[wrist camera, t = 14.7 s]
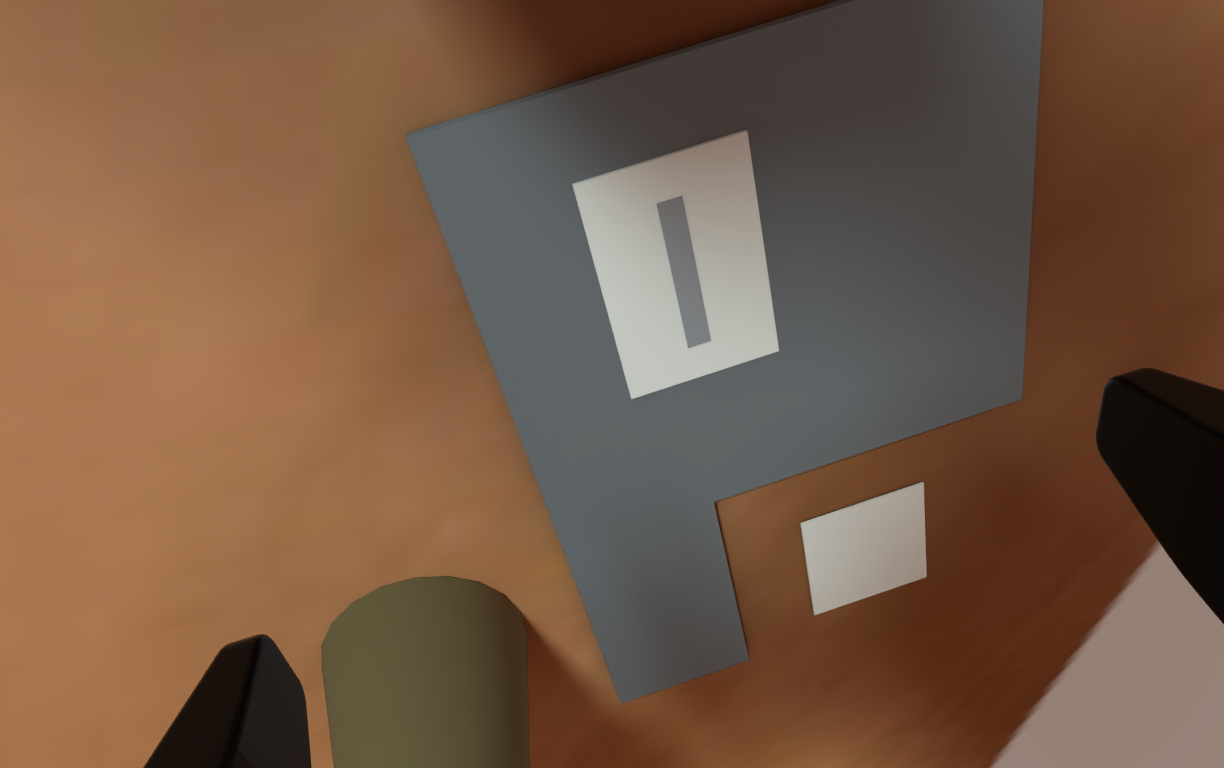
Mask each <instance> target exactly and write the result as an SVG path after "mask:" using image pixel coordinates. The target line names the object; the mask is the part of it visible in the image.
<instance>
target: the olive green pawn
mask: <svg viewBox="0 0 1224 768" xmlns="http://www.w3.org/2000/svg"><path fill="white" fill-rule="evenodd" d="M322 672H323V681H324V689H325V697H326V706H327V714H328V722H329V730H330V739H331V747H332V755H333V764H334V768H530V762H529V710H528V659H527V631H526V628H525V625H524V622H523V619H522V615H521V612H520V611H519V610H518V609H517V608H516V607H515V606H514V605H513V604H512V603H511V601H510V600H509V599H508V598H507V597H506V596H505V595H504V594H502V593H500V592H498V591H496V590H494V589H492V588H490V587H488V586H486V585H484V584H482V583H480V582H476V581H470V580H465V579H460V578H455V577H450V576H444V577H423V578H412V579H408V580H405V581H401V582H398V583H394V584H390V585H387V586H383V587H380V588H378V589H377V590H375V591H373V592H371V593H369V594H367V595H366V596H364V597H362V598H360V599H358V600H357V601H355V602H353V603H352V604H351V605H350V606H349V607H348V608H347V609H346V610H345V611H344V612H343V613H342V614H341V615H340V616H339V617H338V618H337V619H336V620H335V621H334V622H333V623H332V624H331V626H330V628H329V631H328V633H327V635H326V637H325V639H324V642H323V644H322Z"/></svg>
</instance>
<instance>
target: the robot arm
mask: <svg viewBox="0 0 1224 768" xmlns="http://www.w3.org/2000/svg"><path fill="white" fill-rule="evenodd" d="M1096 442H1097V447H1098V450H1099V452H1100V455H1101V457H1102V458H1103V460H1104V462H1105V463H1106V465H1107V466H1108V467H1109V469H1110V470H1111V472H1112V473H1113V475H1114V476H1115V478H1116V479H1117V481H1118V482H1119V484H1120V485H1121V487H1122V488H1123V490H1124V491H1125V492H1126V494H1127V495H1128V497H1129V498H1130V500H1131V501H1132V503H1133V504H1134V506H1135V507H1136V509H1137V510H1138V512H1139V513H1140V515H1141V516H1142V517H1143V519H1144V520H1145V522H1146V523H1147V525H1148V526H1149V528H1150V529H1151V531H1152V532H1153V534H1154V535H1155V537H1156V538H1157V540H1158V541H1159V542H1160V544H1161V545H1162V547H1163V548H1164V550H1165V551H1166V553H1167V554H1168V556H1169V557H1170V558H1171V559H1172V561H1173V562H1174V564H1175V565H1176V566H1177V568H1178V569H1179V571H1180V572H1181V573H1182V574H1183V576H1184V577H1185V578H1186V580H1187V581H1188V582H1189V583H1190V585H1191V586H1192V587H1193V588H1194V589H1195V591H1196V592H1197V593H1198V594H1199V596H1200V597H1201V598H1202V599H1203V600H1204V601H1205V603H1206V604H1207V605H1208V606H1209V607H1210V609H1211V610H1212V611H1213V612H1214V613H1215V614H1216V616H1217V617H1218V618H1219V619H1220V620H1221V621H1222V623H1223V624H1224V391H1223V390H1220V389H1217V388H1214V387H1211V386H1207V385H1204V384H1201V383H1198V382H1195V381H1191V380H1188V379H1185V378H1182V377H1179V376H1175V375H1172V374H1169V373H1166V372H1163V371H1159V370H1156V369H1152V368H1143V369H1138V370H1135V371H1132V372H1128V373H1125V374H1122V375H1118V376H1115V377H1113V378H1111V379H1110V380H1109V381H1108V383H1107V384H1106V385H1105V388H1104V393H1103V398H1102V404H1101V409H1100V415H1099V420H1098V426H1097V431H1096ZM143 768H311V756H310V744H309V732H308V720H307V708H306V700H305V695H304V691H303V688H302V685H301V683H300V681H299V679H298V677H297V676H296V674H295V673H294V671H293V670H292V668H291V667H290V665H289V664H288V662H287V661H286V659H285V658H284V656H283V655H282V653H281V652H280V650H279V649H278V647H277V645H276V644H275V642H274V641H273V640H272V639H271V638H270V637H269V636H267V635H264V634H261V635H260V634H259V635H255V636H252V637H249V638H246V639H242V640H239V641H236V642H232V643H229V644H227V645H226V646H224V647H223V648H222V649H221V650H220V651H219V653H218V654H217V655H216V657H215V659H214V660H213V662H212V663H211V665H210V666H209V668H208V669H207V671H206V672H205V674H204V675H203V677H202V678H201V680H200V682H199V683H198V685H197V686H196V688H195V689H194V691H193V692H192V694H191V695H190V697H189V698H188V700H187V701H186V703H185V705H184V706H183V708H182V709H181V711H180V712H179V714H178V715H177V717H176V718H175V720H174V721H173V723H172V724H171V726H170V727H169V729H168V731H167V732H166V734H165V735H164V737H163V738H162V740H161V741H160V743H159V744H158V746H157V747H156V749H155V750H154V752H153V754H152V755H151V757H150V758H149V760H148V761H147V763H146V764H145V766H144V767H143Z"/></svg>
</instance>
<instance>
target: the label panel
mask: <svg viewBox="0 0 1224 768" xmlns="http://www.w3.org/2000/svg"><path fill="white" fill-rule="evenodd" d="M1043 6H1044V0H839V1H835V2H832V3H829V4H826V5H822V6H819V7H816V8H813V9H809V10H806V11H803V12H800V13H796V14H793V15H790V16H787V17H783V18H780V19H777V20H774V21H770V22H767V23H764V24H761V25H757V26H754V27H751V28H748V29H745V30H741V31H738V32H735V33H732V34H728V35H725V36H722V37H719V38H715V39H712V40H709V41H706V42H702V43H699V44H696V45H693V46H689V47H686V48H683V49H680V50H676V51H673V52H670V53H667V54H663V55H660V56H657V57H654V58H650V59H647V60H644V61H641V62H637V63H634V64H631V65H628V66H624V67H621V68H618V69H615V70H611V71H608V72H605V73H602V74H598V75H595V76H592V77H589V78H585V79H582V80H579V81H576V82H572V83H569V84H566V85H563V86H559V87H556V88H553V89H550V90H546V91H543V92H540V93H537V94H533V95H530V96H527V97H524V98H520V99H517V100H514V101H511V102H507V103H504V104H501V105H498V106H494V107H491V108H488V109H485V110H481V111H478V112H475V113H472V114H468V115H465V116H462V117H459V118H455V119H452V120H449V121H446V122H442V123H439V124H436V125H433V126H429V127H426V128H423V129H420V130H416V131H413V132H410V133H407V134H406V139H407V141H408V144H409V147H410V149H411V152H412V155H413V157H414V160H415V162H416V165H417V168H418V170H419V173H420V176H421V178H422V181H423V183H424V186H425V189H426V191H427V194H428V197H429V199H430V202H431V204H432V207H433V210H434V212H435V215H436V218H437V220H438V223H439V225H440V228H441V231H442V233H443V236H444V239H445V241H446V244H447V246H448V249H449V252H450V254H451V257H452V260H453V262H454V265H455V268H456V270H457V273H458V275H459V278H460V281H461V283H462V286H463V289H464V291H465V294H466V296H467V299H468V302H469V304H470V307H471V310H472V312H473V315H474V317H475V320H476V323H477V325H478V328H479V331H480V333H481V336H482V338H483V341H484V344H485V346H486V349H487V352H488V354H489V357H490V359H491V362H492V365H493V367H494V370H495V373H496V375H497V378H498V381H499V383H500V386H501V388H502V391H503V394H504V396H505V399H506V402H507V404H508V407H509V409H510V412H511V415H512V417H513V420H514V423H515V425H516V428H517V430H518V433H519V436H520V438H521V441H522V444H523V446H524V449H525V451H526V454H527V457H528V459H529V462H530V465H531V467H532V470H533V472H534V475H535V478H536V480H537V483H538V486H539V488H540V491H541V493H542V496H543V499H544V501H545V504H546V507H547V509H548V512H549V515H550V517H551V520H552V522H553V525H554V528H555V530H556V533H557V536H558V538H559V541H560V543H561V546H562V549H563V551H564V554H565V557H566V559H567V562H568V564H569V567H570V570H571V572H572V575H573V578H574V580H575V583H576V585H577V588H578V591H579V593H580V596H581V599H582V601H583V604H584V606H585V609H586V612H587V614H588V617H589V620H590V622H591V625H592V628H593V630H594V633H595V635H596V638H597V641H598V643H599V646H600V649H601V651H602V654H603V656H604V659H605V662H606V664H607V667H608V670H609V672H610V675H611V677H612V680H613V683H614V685H615V688H616V691H617V693H618V696H619V698H620V701H621V704H622V703H625V702H628V701H631V700H634V699H637V698H640V697H643V696H646V695H649V694H652V693H654V692H657V691H660V690H663V689H666V688H669V687H672V686H675V685H678V684H681V683H684V682H686V681H689V680H692V679H695V678H698V677H701V676H704V675H707V674H710V673H713V672H716V671H719V670H721V669H724V668H727V667H730V666H733V665H736V664H739V663H742V662H745V661H748V660H749V656H748V652H747V647H746V643H745V639H744V634H743V630H742V625H741V621H740V616H739V612H738V607H737V603H736V598H735V594H734V590H733V585H732V581H731V576H730V572H729V567H728V563H727V558H726V554H725V550H724V545H723V541H722V536H721V532H720V527H719V523H718V518H717V514H716V510H715V505H714V502H716V501H719V500H722V499H725V498H728V497H731V496H734V495H737V494H740V493H743V492H746V491H749V490H752V489H755V488H758V487H761V486H764V485H767V484H770V483H773V482H776V481H779V480H782V479H785V478H788V477H791V476H794V475H797V474H800V473H803V472H806V471H809V470H812V469H815V468H818V467H821V466H824V465H827V464H830V463H833V462H836V461H839V460H842V459H845V458H848V457H851V456H854V455H857V454H860V453H863V452H866V451H869V450H872V449H875V448H878V447H881V446H884V445H887V444H890V443H893V442H896V441H899V440H902V439H905V438H908V437H911V436H914V435H917V434H920V433H923V432H926V431H929V430H932V429H935V428H938V427H941V426H944V425H947V424H950V423H953V422H956V421H959V420H962V419H965V418H968V417H971V416H974V415H977V414H980V413H983V412H986V411H989V410H992V409H995V408H997V407H1000V406H1003V405H1006V404H1009V403H1012V402H1015V401H1018V400H1021V399H1022V396H1023V377H1024V359H1025V340H1026V322H1027V303H1028V285H1029V266H1030V247H1031V229H1032V210H1033V192H1034V173H1035V155H1036V136H1037V118H1038V99H1039V81H1040V62H1041V44H1042V25H1043ZM800 525H801V532H802V538H803V545H804V552H805V559H806V565H807V572H808V579H809V586H810V592H811V599H812V606H813V613H814V615H817V614H820V613H823V612H826V611H829V610H832V609H835V608H838V607H840V606H843V605H846V604H849V603H852V602H855V601H858V600H861V599H864V598H867V597H870V596H873V595H876V594H878V593H881V592H884V591H887V590H890V589H893V588H896V587H899V586H902V585H905V584H908V583H911V582H913V581H916V580H919V579H922V578H925V577H927V572H926V540H925V508H924V483H923V482H920V483H918V484H915V485H912V486H909V487H906V488H903V489H900V490H897V491H894V492H891V493H888V494H885V495H882V496H879V497H876V498H873V499H870V500H867V501H864V502H861V503H858V504H855V505H852V506H849V507H846V508H843V509H840V510H837V511H834V512H831V513H828V514H825V515H823V516H820V517H817V518H814V519H811V520H808V521H805V522H802V523H800Z"/></svg>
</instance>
